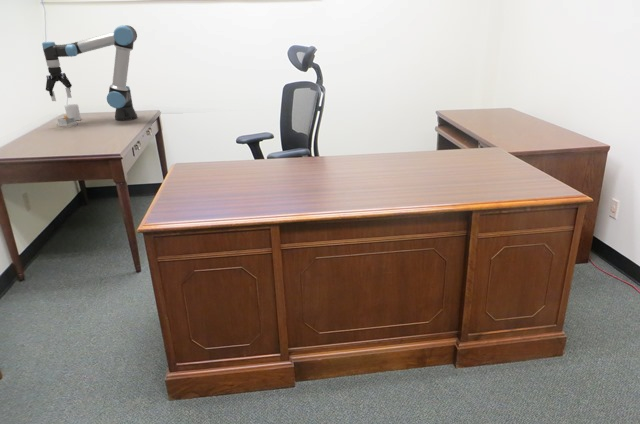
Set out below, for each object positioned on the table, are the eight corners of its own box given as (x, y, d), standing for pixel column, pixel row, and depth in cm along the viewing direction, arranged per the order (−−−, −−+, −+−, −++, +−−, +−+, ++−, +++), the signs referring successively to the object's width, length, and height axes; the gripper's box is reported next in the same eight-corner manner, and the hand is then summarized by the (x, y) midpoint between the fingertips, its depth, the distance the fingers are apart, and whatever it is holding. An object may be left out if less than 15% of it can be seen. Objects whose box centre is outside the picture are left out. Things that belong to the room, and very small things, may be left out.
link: (74, 122, 322) (73, 117, 321) (67, 124, 316) (65, 119, 315) (66, 121, 324) (65, 117, 323) (58, 123, 318) (57, 119, 317)
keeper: (77, 123, 324) (75, 114, 321) (68, 126, 316) (65, 117, 313) (67, 123, 326) (65, 114, 323) (57, 126, 318) (55, 116, 315)
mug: (82, 117, 344) (79, 103, 340) (80, 120, 334) (77, 105, 330) (69, 118, 342) (66, 103, 337) (67, 121, 331) (63, 106, 327)
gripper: (63, 64, 317) (71, 96, 326) (33, 68, 296) (42, 102, 304) (72, 64, 315) (80, 96, 324) (43, 68, 294) (51, 102, 302)
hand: (62, 99), depth 314 cm, fingers open, 13 cm apart
